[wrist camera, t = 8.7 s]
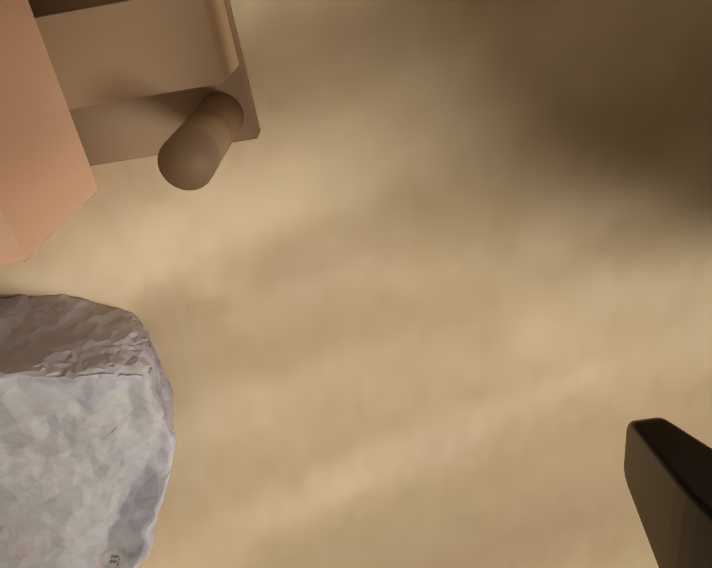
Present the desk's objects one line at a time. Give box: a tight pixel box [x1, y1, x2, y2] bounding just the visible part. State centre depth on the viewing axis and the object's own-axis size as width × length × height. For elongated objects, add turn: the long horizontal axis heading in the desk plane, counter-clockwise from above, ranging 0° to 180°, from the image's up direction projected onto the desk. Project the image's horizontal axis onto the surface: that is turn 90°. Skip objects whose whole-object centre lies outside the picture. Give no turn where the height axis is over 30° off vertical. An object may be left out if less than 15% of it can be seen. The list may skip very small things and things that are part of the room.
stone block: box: [0, 294, 176, 568], centre depth 22 cm, size 12×5×10 cm
